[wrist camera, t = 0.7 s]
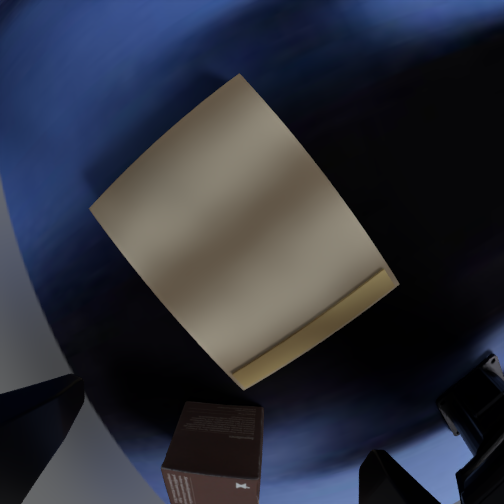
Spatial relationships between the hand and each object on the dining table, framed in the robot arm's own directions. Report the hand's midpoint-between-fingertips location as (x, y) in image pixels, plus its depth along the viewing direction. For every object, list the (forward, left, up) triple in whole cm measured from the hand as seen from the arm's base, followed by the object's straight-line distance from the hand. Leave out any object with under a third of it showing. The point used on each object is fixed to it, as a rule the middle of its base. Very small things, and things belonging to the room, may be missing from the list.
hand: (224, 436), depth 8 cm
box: (-8, +9, -13) cm, 17 cm away
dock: (+3, -2, -12) cm, 13 cm away
